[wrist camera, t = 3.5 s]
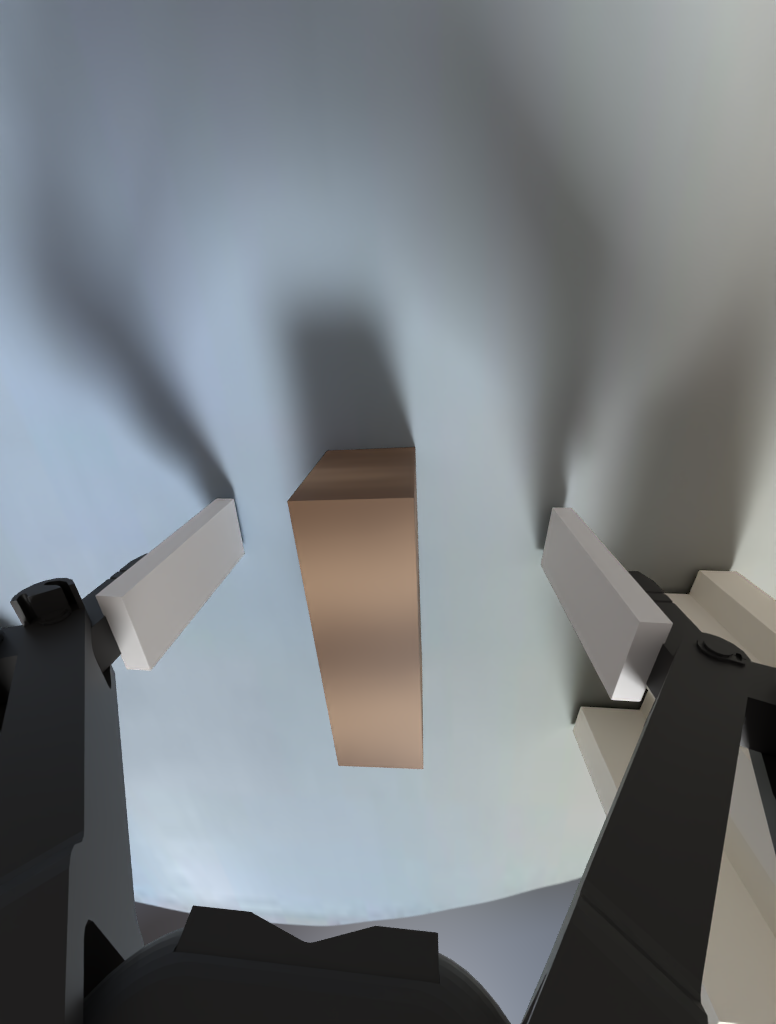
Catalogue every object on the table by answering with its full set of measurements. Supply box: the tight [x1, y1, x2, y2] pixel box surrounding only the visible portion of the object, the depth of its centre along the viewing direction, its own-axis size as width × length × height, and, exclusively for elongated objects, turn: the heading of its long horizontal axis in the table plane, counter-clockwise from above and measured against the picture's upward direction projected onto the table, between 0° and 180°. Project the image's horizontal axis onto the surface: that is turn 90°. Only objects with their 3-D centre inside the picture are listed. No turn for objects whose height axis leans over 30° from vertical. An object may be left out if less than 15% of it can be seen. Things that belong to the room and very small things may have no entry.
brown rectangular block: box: [287, 447, 423, 769], centre depth 15 cm, size 12×4×5 cm, turn 4°
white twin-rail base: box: [573, 570, 776, 1024], centre depth 12 cm, size 4×12×14 cm, turn 0°
